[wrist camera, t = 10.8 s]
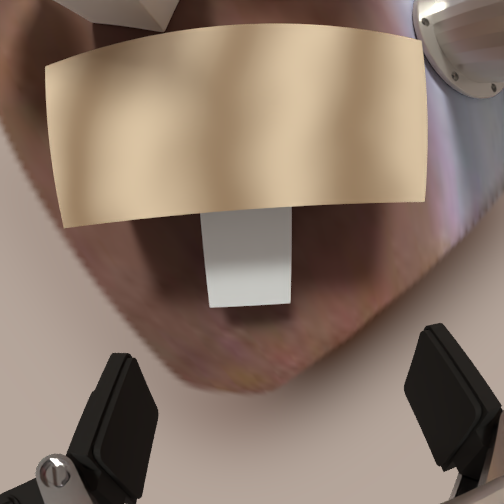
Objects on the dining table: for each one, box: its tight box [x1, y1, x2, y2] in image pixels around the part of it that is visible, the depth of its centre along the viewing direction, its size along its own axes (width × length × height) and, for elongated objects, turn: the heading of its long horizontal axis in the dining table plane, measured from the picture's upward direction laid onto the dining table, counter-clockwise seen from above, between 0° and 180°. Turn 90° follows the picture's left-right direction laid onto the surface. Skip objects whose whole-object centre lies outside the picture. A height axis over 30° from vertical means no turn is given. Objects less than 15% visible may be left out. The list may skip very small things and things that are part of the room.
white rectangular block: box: [200, 207, 292, 307], centre depth 23 cm, size 6×16×5 cm, turn 2°
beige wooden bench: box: [45, 24, 427, 228], centre depth 18 cm, size 20×9×10 cm, turn 94°
